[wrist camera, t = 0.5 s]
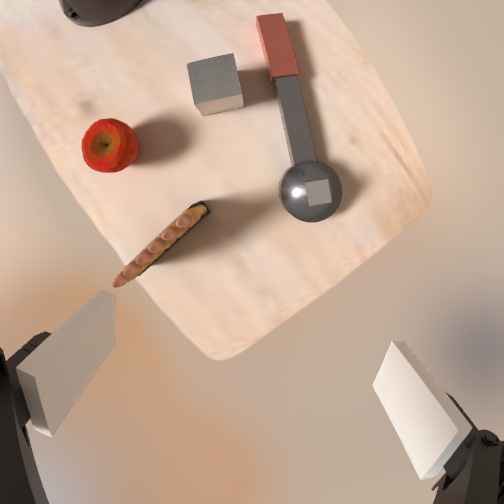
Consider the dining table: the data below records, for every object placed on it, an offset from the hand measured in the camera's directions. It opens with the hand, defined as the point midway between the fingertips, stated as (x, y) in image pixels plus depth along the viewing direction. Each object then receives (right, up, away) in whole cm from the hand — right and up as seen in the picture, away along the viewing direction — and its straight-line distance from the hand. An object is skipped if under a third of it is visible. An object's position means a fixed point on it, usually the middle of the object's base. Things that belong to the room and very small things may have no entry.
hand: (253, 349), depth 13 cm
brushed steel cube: (-4, +24, +21) cm, 32 cm away
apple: (-16, +17, +22) cm, 33 cm away
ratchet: (+5, +21, +21) cm, 30 cm away
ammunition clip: (-10, +7, +25) cm, 27 cm away
